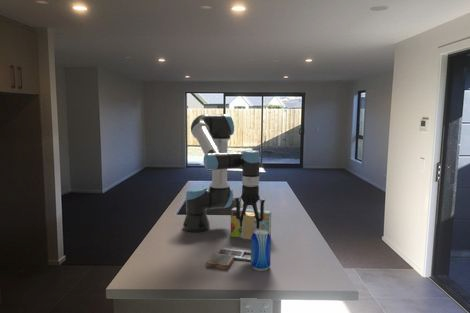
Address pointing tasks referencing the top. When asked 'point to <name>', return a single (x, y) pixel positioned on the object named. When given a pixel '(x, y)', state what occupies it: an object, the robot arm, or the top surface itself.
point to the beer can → (260, 249)
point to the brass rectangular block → (248, 224)
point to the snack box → (237, 230)
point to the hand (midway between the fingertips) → (249, 234)
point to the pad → (220, 261)
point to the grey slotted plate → (235, 253)
